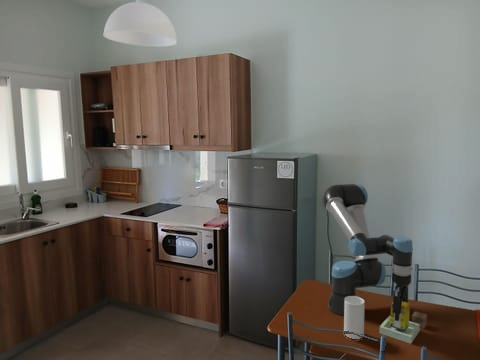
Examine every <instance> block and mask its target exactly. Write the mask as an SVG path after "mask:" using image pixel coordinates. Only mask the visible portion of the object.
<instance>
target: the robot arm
mask: <svg viewBox="0 0 480 360" xmlns="http://www.w3.org/2000/svg"><path fill="white" fill-rule="evenodd" d="M322 196H323V197H322V202H323V205H324V207H325V209H326V211H328V212H330V213H331V215H332V216H333V218H334V219H335V221H336V222H337V224H338V225H339V227H340V229H341V231H342V232H343V233H344V235H345V237H346V238H347V240H348V245H347V248H348V251H349V253H350V255H352V256H353V257H355V259H354V260H353V261H352V260H339V261H337V262H335V263H333V265H332V268H331V269H332V270H331V294H330V296H329V299H328V302H327V309H328V310H329V311H330V312H332V313H334V314H336V315H338V316H339V315H340V316H344V304H345V298H346V297H348V296H356V297H357V289H361V288H369V287H370V288H373V287H379V286H381V285H383V284H384V283H385V281H386V277H387V270H386V267H385V265H384V264H383V262H381V261H380V260H379V258H378V256H376V255H383V254H384V255H385V254H387V255H388V256H391V257H392V264H391V265H392V267H391V268H392V275H391V281H392V282H393V283H395V286H394V290H393V291H392V293H393V298H392V302H393V311H392V312H393V313H394V326H395V327H398V328H401V305H402V301H403V302H407V303H409V285H410V284H411V283H412V271H413V270H414V268H413V267H412V266H413V264H412V263H413V250H414V248H413V240H412V239H411V238H410V237H405V236H396V237H392V236H390V235H389V234H383V233H382V234H379V235H377V236H376V237H370V233H369V230H368V224H367V221H366V216H365V212H364V209H365V208H366V204H367V203H368V200H369V199H368V198H369V197H368V191H367V190H366V188H365V187H364V186H363V185H362V184H360V183H348V184H334V185H333V184H332V185H331V186H329V187H328V188H326V190H325V191H324V193H323V195H322Z"/></svg>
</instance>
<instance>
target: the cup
mask: <svg viewBox="0 0 480 360" xmlns="http://www.w3.org/2000/svg"><path fill="white" fill-rule="evenodd" d="M343 318H344V319H343V332H344V331H349V332H354V333H358V334H363V335H364V334H365V300H364V299H363V298H361V297H360V296H357V295H356V296H348V297H346V298H345V304H344V315H343ZM345 335H346V336H347V337H349V338H352V339H360V338H361V337H359V336H357V335H354V334H345ZM345 335H344V336H345ZM364 336H365V335H364ZM347 337H346V338H347Z"/></svg>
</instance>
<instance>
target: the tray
mask: <svg viewBox="0 0 480 360" xmlns="http://www.w3.org/2000/svg"><path fill="white" fill-rule="evenodd" d="M390 322H391V314H390V315H388V317H387V318H386V319H385V320H384V321H383V322H382V323H381V325H379V334H381V335H384V336H386V337H390V338H392V339H396V340H399V341H402V342H404V343H407V344H410V345H411V344H412V343H413V341H414V340H415V339H416V337H417V336H418V334H419V333H420V329H421V328H420V324H417V323H414V322H412V321H410V320H409V327H408V328H407V329H406V330H405V331H401V330H399V329H396V328H394V327H391V326H390Z"/></svg>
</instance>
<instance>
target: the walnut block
mask: <svg viewBox="0 0 480 360" xmlns="http://www.w3.org/2000/svg"><path fill="white" fill-rule="evenodd" d="M427 314H428V313H427ZM427 314H426V313H422V312H419V311H414V312H413V313H412V315H411V322H414V323H417V324H420V329H421V330H424V329H425V328H426V327H427V325H428V323H427V322H428V320H427V319H428V315H427Z"/></svg>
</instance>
